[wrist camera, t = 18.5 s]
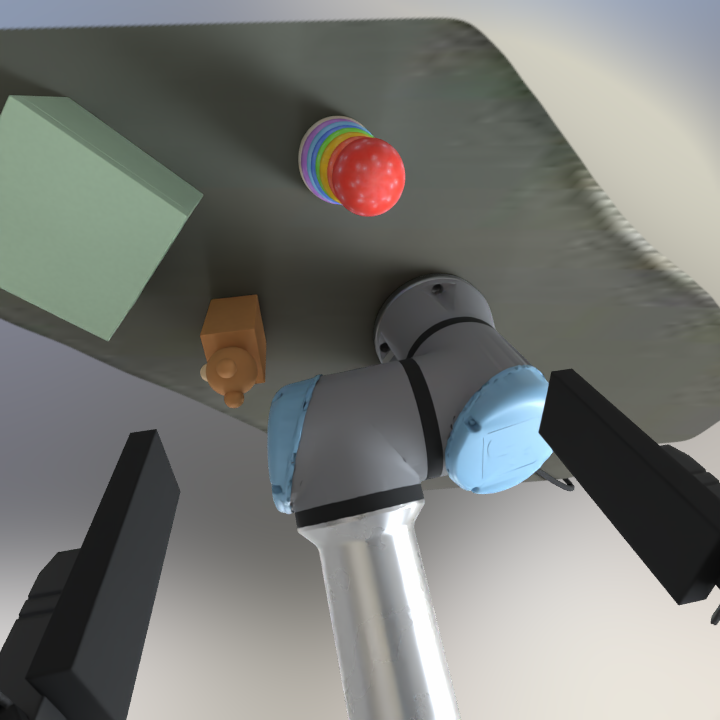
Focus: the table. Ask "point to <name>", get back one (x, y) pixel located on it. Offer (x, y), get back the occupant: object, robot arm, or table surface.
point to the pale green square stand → (81, 212)
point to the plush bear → (234, 347)
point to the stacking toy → (350, 166)
